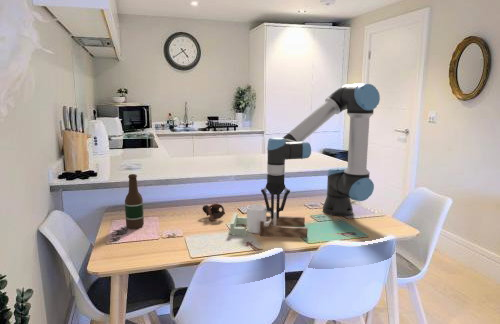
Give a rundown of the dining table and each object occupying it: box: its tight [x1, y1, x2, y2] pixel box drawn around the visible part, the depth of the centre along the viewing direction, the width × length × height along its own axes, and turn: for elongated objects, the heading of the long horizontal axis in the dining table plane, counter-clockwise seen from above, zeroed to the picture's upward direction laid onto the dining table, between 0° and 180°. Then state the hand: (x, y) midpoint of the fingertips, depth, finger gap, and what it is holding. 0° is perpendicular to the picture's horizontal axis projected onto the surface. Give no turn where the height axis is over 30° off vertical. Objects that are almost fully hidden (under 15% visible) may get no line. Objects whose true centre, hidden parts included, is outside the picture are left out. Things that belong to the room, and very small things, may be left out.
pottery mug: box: [202, 203, 226, 222], centre depth 174 cm, size 12×10×8 cm
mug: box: [246, 203, 271, 234], centre depth 159 cm, size 9×12×11 cm
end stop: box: [229, 212, 247, 236], centre depth 160 cm, size 6×15×5 cm, turn 176°
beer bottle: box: [124, 173, 145, 230], centre depth 160 cm, size 8×8×24 cm
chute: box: [259, 215, 309, 238], centre depth 159 cm, size 20×15×6 cm
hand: (274, 225), depth 159 cm, fingers closed
